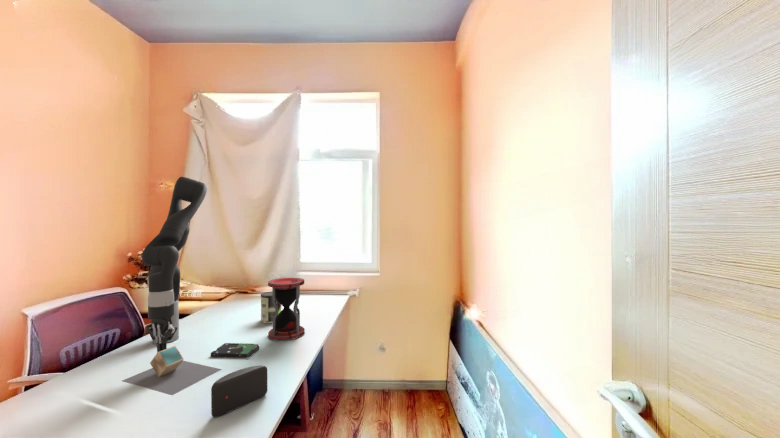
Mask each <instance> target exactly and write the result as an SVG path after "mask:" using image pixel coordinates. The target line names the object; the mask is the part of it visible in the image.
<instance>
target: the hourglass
mask: <svg viewBox="0 0 780 438" xmlns="http://www.w3.org/2000/svg"><path fill="white" fill-rule="evenodd" d="M303 285H305V278H300V277H279V278H274V279H270V280H269V281H268V282H267V286H268V287H269V288H272V290H271V292H272V303H273V306H274V307H275V315H274V316H273V323H272V328H271V329H270V330H269V331H268V335H267V336H268V338H269V339H270V340H273V341H290V340H295V339H298V338H300V337H302V336H303V335H305V330H306V329H305V327H304V326H301V323H300V322H301V317H300V316H301V315H300V314H301V313H300V311H301V310H300V309H299V307H298V306H299V302H300V301H299V300H300V297H301V295H300V291H301V289H300V287H301V286H303ZM275 299H276V302H277V305H276V303H275ZM293 303H294V304H293ZM280 304H281V307H283V309H281V312H280V313H279V314H278V311H279V309H280ZM292 305H293V307H292V308H293V309H291V308H290V306H292Z"/></svg>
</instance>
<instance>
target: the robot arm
mask: <svg viewBox="0 0 780 438" xmlns="http://www.w3.org/2000/svg"><path fill="white" fill-rule="evenodd" d="M172 191H173V192H172V195H171V196H172V197H171V202H170V206H169V209H168V210H169V211H168V213H167V217H166V220H165V221H164V223H163V225H162V227H161V229H160V231H159V232H158V234H156V236H155V237H154V238H153V239H152V240H151V241H150V242H149V243H148V244H146V246H145V248H144V249H143V251H142V253H141V260H142V263H143V264H144V265H146V266H148V267H150V268H149V271H148V276H147V277H148V278H147V280H148V295H147V318H148V319H149V320H150V324H147V325H146V326H145V327H146V330H147V332H148V333H149V335H150V337H151V340H152V341H153V343H154V344H156V354H157V353H158V352H160V351H162V350H165V349H167V347H168V345H167V343H172V342H174V341H177V340H178V339H179V338H180V336H179V334H180V332H179V331H180V323H179V322H180V321H179V319H180V318H179V317H180V310H179V309H180V308H179V296H180V292H181V291H180V290H181V288H180V287H181V271H180V267H179V266H178V265H177V264H178V261H179V257H180V254H179V253H180V251H181V250H182V249H183V247H184V246H185V245H186V244H187V243H186V242H187V240H188V237H189V234H190V226H189V225H190V224H189V223H190V222H191V220H192V218H193V217H194V216H195V215H196V213H197V212H198V209H199V208H200V207H201V205H202V203H203V201H204V200H205V197H206V195H207V193H208V192H207V191H208V186H207V184H206V183H204V182H201V181H198V180H196V179H193V178H189V177H186V176H179V177H178V178H177V180H176V182H175V184H174V187H173V189H172ZM183 201H184V202H187V203H189V205H187V206H186V207H184V208H183V205H182V204H183Z"/></svg>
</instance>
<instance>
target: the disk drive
mask: <svg viewBox="0 0 780 438" xmlns="http://www.w3.org/2000/svg"><path fill="white" fill-rule="evenodd" d="M259 350H260V345H259V344H258V343H241V342H240V343H237V342H235V343H234V342H232V343H231V342H225V343H223V344H221V345H219V346H218V347H217V348H216V350H212V351H211V352H210V358H228V359H229V358H230V359H231V358H233V359H235V358H237V359H246V360H248V359H250V358H251V357H252V356H254V354H256V352H258V351H259Z"/></svg>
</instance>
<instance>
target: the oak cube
mask: <svg viewBox="0 0 780 438" xmlns="http://www.w3.org/2000/svg"><path fill="white" fill-rule="evenodd" d="M182 361H185V359H184V356H183V355H182V354H181V352H180V351H179V350H178V348H177V346H176V345H173V346H170V347H168V348H167V349H165V350H162V351H160V352H158V353H157V352H156V354H155V356H154V357H153V358H152V360H151V361H150V363H149V364H150V365H151V368H153V369H154V371H155V372H156V374H157V375H158V377H160V376H163V375H165V374H167V373H169V372H171V371H174V370H176V369H177V367H178V366H179V365H180V364H181V362H182Z"/></svg>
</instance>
